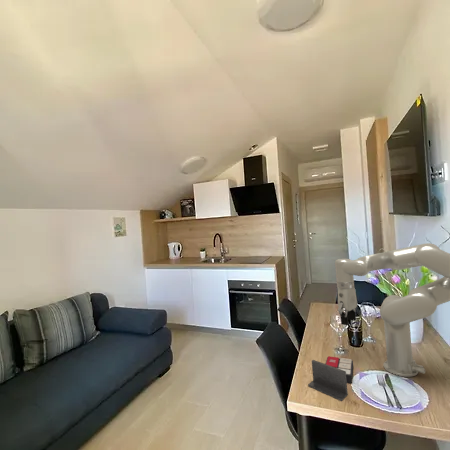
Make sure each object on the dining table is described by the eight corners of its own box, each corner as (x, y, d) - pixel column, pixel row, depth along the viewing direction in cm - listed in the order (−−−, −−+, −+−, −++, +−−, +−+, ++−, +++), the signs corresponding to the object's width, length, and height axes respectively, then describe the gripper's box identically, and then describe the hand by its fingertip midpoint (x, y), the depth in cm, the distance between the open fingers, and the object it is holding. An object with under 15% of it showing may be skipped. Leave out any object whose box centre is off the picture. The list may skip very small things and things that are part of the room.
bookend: (347, 395, 104) (345, 371, 104) (341, 401, 101) (339, 376, 101) (314, 381, 115) (313, 359, 115) (308, 386, 112) (306, 364, 112)
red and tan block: (352, 358, 124) (351, 373, 111) (353, 368, 124) (352, 384, 111) (327, 355, 129) (322, 369, 116) (327, 364, 129) (323, 379, 116)
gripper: (344, 289, 122) (347, 329, 122) (361, 282, 133) (364, 318, 133) (328, 287, 128) (332, 326, 127) (346, 280, 139) (349, 315, 139)
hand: (348, 322), depth 130 cm, fingers open, 6 cm apart
